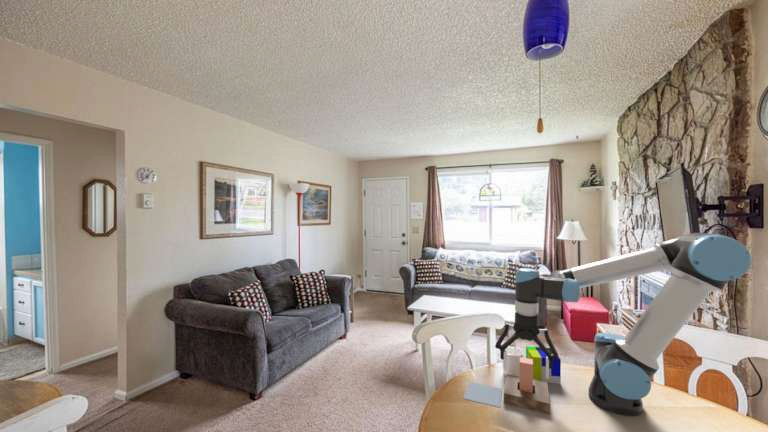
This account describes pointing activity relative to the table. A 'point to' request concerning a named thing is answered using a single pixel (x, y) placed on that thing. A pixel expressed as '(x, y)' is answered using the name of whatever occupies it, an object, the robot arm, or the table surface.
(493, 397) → the mat
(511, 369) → the white cup
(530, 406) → the pocket block
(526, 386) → the peg
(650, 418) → the table surface
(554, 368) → the puzzle toy
